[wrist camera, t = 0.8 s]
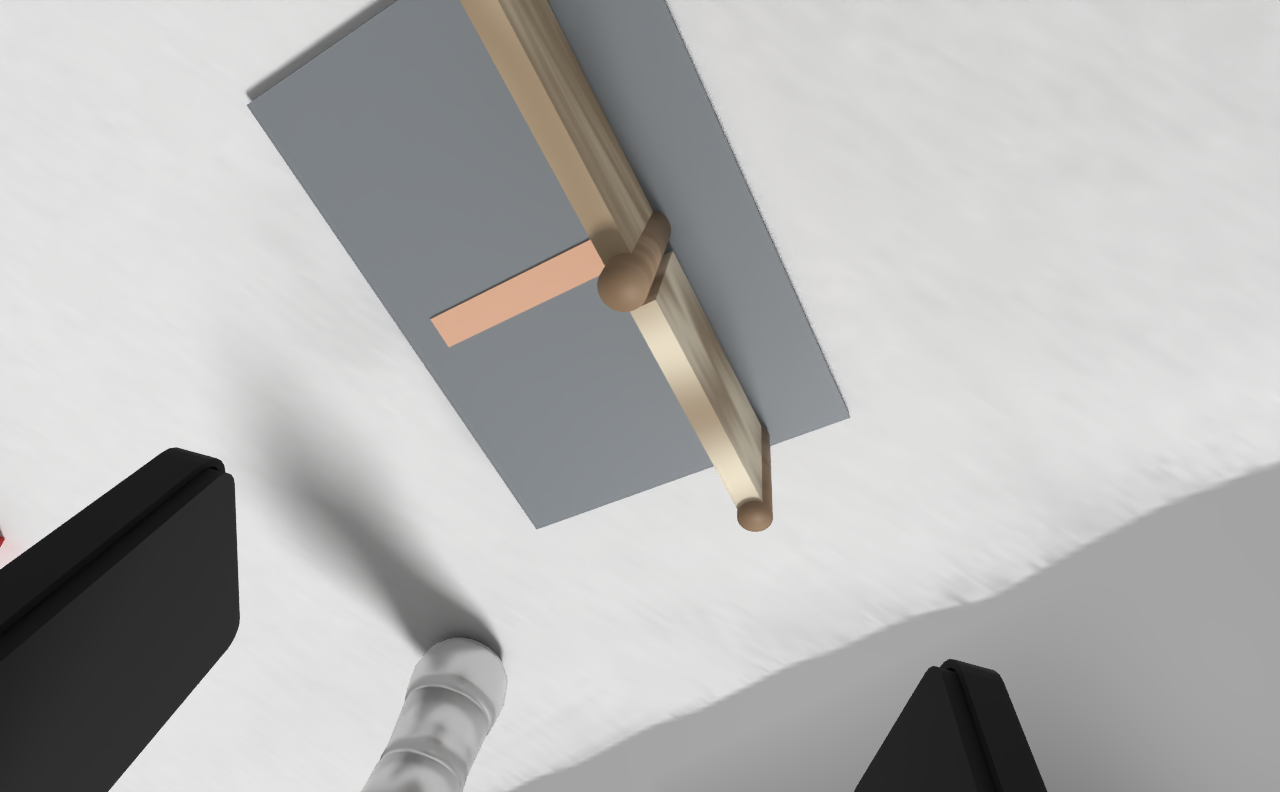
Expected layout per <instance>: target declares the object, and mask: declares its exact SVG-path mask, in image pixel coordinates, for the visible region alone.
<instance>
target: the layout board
mask: <svg viewBox="0 0 1280 792" xmlns="http://www.w3.org/2000/svg"><path fill="white" fill-rule="evenodd" d="M547 1H548V3H549V5H550V7H551V9H552V11H553V13H554V15H555V17H556V19H557V21H558V23H559V25H560V27H561V29H562V31H563V33H564V35H565V37H566V39H567V41H568V43H569V45H570V47H571V49H572V51H573V53H574V55H575V57H576V59H577V61H578V63H579V65H580V67H581V69H582V71H583V73H584V75H585V77H586V79H587V81H588V83H589V85H590V87H591V89H592V91H593V93H594V95H595V97H596V99H597V101H598V103H599V105H600V107H601V109H602V111H603V113H604V115H605V117H606V119H607V120H608V122H609V124H610V126H611V128H612V130H613V132H614V134H615V136H616V138H617V140H618V142H619V144H620V146H621V148H622V150H623V152H624V154H625V156H626V158H627V160H628V162H629V164H630V166H631V168H632V170H633V172H634V174H635V176H636V178H637V180H638V182H639V184H640V186H641V188H642V190H643V192H644V194H645V196H646V198H647V200H648V202H649V204H650V206H651V208H652V210H656V211H659V212H661V213H662V214H664V215H665V216H666V218H667V219H668V221H669V223H670V226H671V235H670V238H669V241H668V244H667V246H666V249H665V251H664V254H666V253H668V252H671V251H673V252H674V254H675V256H676V258H677V260H678V262H679V263H680V265H681V267H682V269H683V271H684V273H685V275H686V277H687V279H688V281H689V283H690V285H691V287H692V289H693V291H694V293H695V295H696V297H697V299H698V301H699V303H700V305H701V307H702V309H703V311H704V313H705V315H706V317H707V319H708V321H709V323H710V325H711V327H712V329H713V331H714V333H715V335H716V337H717V339H718V341H719V343H720V345H721V347H722V349H723V351H724V353H725V355H726V357H727V359H728V361H729V363H730V365H731V367H732V369H733V371H734V373H735V375H736V377H737V379H738V381H739V383H740V385H741V387H742V389H743V391H744V393H745V395H746V397H747V399H748V401H749V403H750V405H751V406H752V408H753V410H754V412H755V414H756V416H757V418H758V420H759V422H760V424H761V426H763V427H764V428H766V429H767V431H768V432H769V435H770V446H772V445H775V444H777V443H780V442H783V441H786V440H789V439H791V438H794V437H797V436H800V435H803V434H805V433H808V432H811V431H814V430H817V429H819V428H822V427H825V426H828V425H831V424H833V423H836V422H839V421H842V420H845V419H847V418H850V415H849V412H848V410H847V407H846V405H845V403H844V401H843V399H842V396H841V394H840V392H839V390H838V387H837V385H836V383H835V381H834V378H833V376H832V374H831V372H830V369H829V367H828V365H827V363H826V360H825V358H824V356H823V354H822V351H821V349H820V347H819V345H818V343H817V340H816V338H815V336H814V334H813V331H812V329H811V327H810V325H809V322H808V320H807V318H806V316H805V313H804V311H803V309H802V307H801V304H800V302H799V300H798V298H797V296H796V293H795V291H794V289H793V287H792V284H791V282H790V280H789V278H788V275H787V273H786V271H785V269H784V266H783V264H782V262H781V260H780V257H779V255H778V253H777V251H776V248H775V246H774V244H773V242H772V240H771V237H770V235H769V233H768V231H767V228H766V226H765V224H764V222H763V219H762V217H761V215H760V213H759V210H758V208H757V206H756V204H755V201H754V199H753V197H752V195H751V192H750V190H749V188H748V186H747V184H746V181H745V179H744V177H743V175H742V172H741V170H740V168H739V166H738V163H737V161H736V159H735V157H734V154H733V152H732V150H731V148H730V145H729V143H728V141H727V139H726V137H725V134H724V132H723V130H722V128H721V125H720V123H719V121H718V119H717V116H716V114H715V112H714V110H713V107H712V105H711V103H710V101H709V98H708V96H707V94H706V92H705V89H704V87H703V85H702V83H701V81H700V78H699V76H698V74H697V72H696V69H695V67H694V65H693V63H692V60H691V58H690V56H689V54H688V51H687V49H686V47H685V45H684V42H683V40H682V38H681V36H680V34H679V31H678V29H677V27H676V25H675V22H674V20H673V18H672V16H671V13H670V11H669V9H668V7H667V4H666V2H665V0H547ZM247 106H248V108H249V109H250V111H251V112H252V114H253V115H254V117H255V118H256V119H257V121H258V122H259V124H260V125H261V127H262V128H263V130H264V131H265V133H266V134H267V136H268V137H269V138H270V140H271V141H272V143H273V144H274V146H275V147H276V149H277V150H278V152H279V153H280V155H281V156H282V158H283V159H284V160H285V162H286V163H287V165H288V166H289V168H290V169H291V171H292V172H293V174H294V175H295V177H296V178H297V179H298V181H299V182H300V184H301V185H302V187H303V188H304V190H305V191H306V193H307V194H308V196H309V197H310V198H311V200H312V201H313V203H314V204H315V206H316V207H317V209H318V210H319V212H320V213H321V215H322V216H323V217H324V219H325V220H326V222H327V223H328V225H329V226H330V228H331V229H332V231H333V232H334V234H335V235H336V237H337V238H338V239H339V241H340V242H341V244H342V245H343V247H344V248H345V250H346V251H347V253H348V254H349V256H350V257H351V258H352V260H353V261H354V263H355V264H356V266H357V267H358V269H359V270H360V272H361V273H362V275H363V276H364V277H365V279H366V280H367V282H368V283H369V285H370V286H371V288H372V289H373V291H374V292H375V294H376V295H377V297H378V298H379V299H380V301H381V302H382V304H383V305H384V307H385V308H386V310H387V311H388V313H389V314H390V316H391V317H392V318H393V320H394V321H395V323H396V324H397V326H398V327H399V329H400V330H401V332H402V333H403V335H404V336H405V337H406V339H407V340H408V342H409V343H410V345H411V346H412V348H413V349H414V351H415V352H416V354H417V355H418V356H419V358H420V359H421V361H422V362H423V364H424V365H425V367H426V368H427V370H428V371H429V373H430V374H431V376H432V377H433V378H434V380H435V381H436V383H437V384H438V386H439V387H440V389H441V390H442V392H443V393H444V395H445V396H446V397H447V399H448V400H449V402H450V403H451V405H452V406H453V408H454V409H455V411H456V412H457V414H458V415H459V416H460V418H461V419H462V421H463V422H464V424H465V425H466V427H467V428H468V430H469V431H470V433H471V434H472V435H473V437H474V438H475V440H476V441H477V443H478V444H479V446H480V447H481V449H482V450H483V452H484V453H485V455H486V456H487V457H488V459H489V460H490V462H491V463H492V465H493V466H494V468H495V469H496V471H497V472H498V474H499V475H500V476H501V478H502V479H503V481H504V482H505V484H506V485H507V487H508V488H509V490H510V491H511V493H512V494H513V495H514V497H515V498H516V500H517V501H518V503H519V504H520V506H521V507H522V509H523V510H524V512H525V513H526V515H527V516H528V517H529V519H530V520H531V522H532V523H533V525H534V526H535V528H536V529H539V528H542V527H545V526H548V525H550V524H553V523H556V522H559V521H562V520H564V519H567V518H570V517H573V516H576V515H578V514H581V513H584V512H587V511H590V510H592V509H595V508H598V507H601V506H604V505H606V504H609V503H612V502H615V501H618V500H620V499H623V498H626V497H629V496H632V495H634V494H637V493H640V492H643V491H646V490H648V489H651V488H654V487H657V486H660V485H662V484H665V483H668V482H671V481H674V480H676V479H679V478H682V477H685V476H688V475H690V474H693V473H696V472H699V471H702V470H704V469H707V468H710V467H713V466H714V465H713V463H712V461H711V460H710V458H709V456H708V454H707V452H706V450H705V449H704V447H703V445H702V443H701V441H700V439H699V438H698V436H697V434H696V432H695V430H694V428H693V427H692V425H691V423H690V421H689V419H688V417H687V416H686V414H685V412H684V410H683V408H682V406H681V405H680V403H679V401H678V399H677V397H676V396H675V394H674V392H673V390H672V388H671V386H670V385H669V383H668V381H667V379H666V377H665V375H664V374H663V372H662V370H661V368H660V366H659V364H658V363H657V361H656V359H655V357H654V355H653V353H652V352H651V350H650V348H649V346H648V344H647V342H646V341H645V339H644V337H643V335H642V333H641V331H640V330H639V328H638V326H637V324H636V322H635V320H634V319H633V317H632V315H631V313H630V312H619V311H615V310H613V309H611V308H609V307H608V306H607V305H606V304H604V302H603V301H602V300H601V298H600V296H599V294H598V290H597V282H598V278H599V275H600V274H601V272H602V270H603V269H604V267H605V265H604V264H603V262H602V260H601V258H600V256H599V254H598V253H597V251H596V249H595V247H594V245H593V243H592V242H591V240H590V238H589V236H588V234H587V232H586V231H585V229H584V227H583V225H582V223H581V221H580V220H579V218H578V216H577V214H576V212H575V210H574V209H573V207H572V205H571V203H570V201H569V199H568V198H567V196H566V194H565V192H564V190H563V188H562V187H561V185H560V183H559V181H558V179H557V177H556V176H555V174H554V172H553V170H552V168H551V166H550V165H549V163H548V161H547V159H546V157H545V155H544V154H543V152H542V150H541V148H540V146H539V144H538V143H537V141H536V139H535V137H534V135H533V133H532V132H531V130H530V128H529V126H528V124H527V122H526V121H525V119H524V117H523V115H522V113H521V111H520V110H519V108H518V106H517V104H516V102H515V100H514V99H513V97H512V95H511V93H510V91H509V89H508V88H507V86H506V84H505V82H504V80H503V78H502V77H501V75H500V73H499V71H498V69H497V67H496V66H495V64H494V62H493V60H492V58H491V56H490V55H489V53H488V51H487V49H486V47H485V45H484V44H483V42H482V40H481V38H480V36H479V34H478V33H477V31H476V29H475V27H474V25H473V23H472V22H471V20H470V18H469V16H468V14H467V12H466V11H465V9H464V7H463V5H462V3H461V1H460V0H397V1H396V2H394V3H393V4H392V5H390V6H389V7H387V8H386V9H384V10H383V11H381V12H380V13H379V14H377V15H376V16H374V17H373V18H371V19H370V20H369V21H367V22H366V23H364V24H363V25H361V26H360V27H358V28H357V29H356V30H354V31H353V32H351V33H350V34H348V35H347V36H345V37H344V38H343V39H341V40H340V41H338V42H337V43H335V44H334V45H333V46H331V47H330V48H328V49H327V50H325V51H324V52H322V53H321V54H320V55H318V56H317V57H315V58H314V59H312V60H311V61H309V62H308V63H307V64H305V65H304V66H302V67H301V68H299V69H298V70H296V71H295V72H294V73H292V74H291V75H289V76H288V77H286V78H285V79H284V80H282V81H281V82H279V83H278V84H276V85H275V86H273V87H272V88H271V89H269V90H268V91H266V92H265V93H263V94H262V95H260V96H259V97H258V98H256V99H255V100H253V101H252V102H250V103H249V104H248V105H247ZM664 254H663V255H664Z"/></svg>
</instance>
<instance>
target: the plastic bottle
mask: <svg viewBox="0 0 1280 792" xmlns="http://www.w3.org/2000/svg"><path fill="white" fill-rule="evenodd" d="M507 683H508V682H507V675H506V672H505V669H504V667H503V664H502V662H501V660H500V658H499V657H498V656H497V655H496V653H495V652H494V651H492V650H491V649H490V648H489V647H487V646H486V645H484V644H482V643H480V642H478V641H476V640H472V639H469V638H462V637H454V638H449V639H446V640H444V641H441V642H439V643H437V644H435V645H433V646H432V647H430V648H429V649H428V651H427V652H426V653H425V654H424V656H423V657H422V658H421V660H420V661H419V662H418V664H417V665H416V666H415V669H414V671H413V674H412V677H411V680H410V683H409V686H408V688H407V693H406V697H405V703H404V705H403V708H402V710H401V713H400V716H399V718H398V721H397V723H396V726H395V728H394V731H393V733H392V736H391V738H390V741H389V743H388V745H387V747H386V748H385V750H384V752H383V754H382V756H381V758H380V761H379V762H378V763H377V765H376V766H375V768H374V770H373V772H372V774H371V775H370V777H369V779H368V781H367V783H366V784H365V786H364V788H363V789H362V791H361V792H462V791H463V788H464V785H465V782H466V778H467V776H468V773H469V771H470V769H471V767H472V765H473V763H474V760H475V758H476V756H477V754H478V752H479V750H480V748H481V745H482V743H483V741H484V739H485V737H486V736H487V735H488V733H489V731H490V730H491V728H492V727H493V725H494V723H495V721H496V719H497V717H498V715H499V714H500V712H501V710H502V708H503V706H504V701H505V695H506V689H507Z"/></svg>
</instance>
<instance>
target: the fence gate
mask: <svg viewBox="0 0 1280 792" xmlns="http://www.w3.org/2000/svg"><path fill="white" fill-rule="evenodd" d="M630 313H631V315H632V317H633V319H634V320H635V322H636V324H637V326H638V328H639V330H640V331H641V333H642V335H643V337H644V339H645V341H646V342H647V344H648V346H649V348H650V350H651V352H652V353H653V355H654V357H655V359H656V361H657V363H658V364H659V366H660V368H661V370H662V372H663V374H664V375H665V377H666V379H667V381H668V383H669V385H670V386H671V388H672V390H673V392H674V394H675V396H676V397H677V399H678V401H679V403H680V405H681V406H682V408H683V410H684V412H685V414H686V416H687V417H688V419H689V421H690V423H691V425H692V427H693V428H694V430H695V432H696V434H697V436H698V438H699V439H700V441H701V443H702V445H703V447H704V449H705V450H706V452H707V454H708V456H709V458H710V460H711V461H712V463H713V465H714V467H715V469H716V471H717V472H718V474H719V476H720V478H721V480H722V482H723V483H724V485H725V487H726V489H727V491H728V493H729V494H730V496H731V498H732V500H733V502H734V504H735V505H736V507H737V509H738V510H737V519H738V522H739V524H740V525H741V526H742V527H743V528H744V529H746V530H748V531H753V532H758V531H763V530H765V529H767V528H768V527H769V526H770V525H771V523H772V520H773V512H772V485H771V457H770V435H769V432H768V431H767V429H766V428H764V427H763V426H761V424H760V422H759V420H758V418H757V416H756V414H755V412H754V410H753V408H752V406H751V405H750V403H749V401H748V399H747V397H746V395H745V393H744V391H743V389H742V387H741V385H740V383H739V381H738V379H737V377H736V375H735V373H734V371H733V369H732V367H731V365H730V363H729V361H728V359H727V357H726V355H725V353H724V351H723V349H722V347H721V345H720V343H719V341H718V339H717V337H716V335H715V333H714V331H713V329H712V327H711V325H710V323H709V321H708V319H707V317H706V315H705V313H704V311H703V309H702V307H701V305H700V303H699V301H698V299H697V297H696V295H695V293H694V291H693V289H692V287H691V285H690V283H689V281H688V279H687V277H686V275H685V273H684V271H683V269H682V267H681V265H680V263H679V262H678V260H677V258H676V256H675V254H674V252H673V251H671V252H668V253H666V254H664V255H663V257H662V259H661V262H660V264H659V267H658V270H657V272H656V275H655V278H654V280H653V283H652V285H651V288H650V291H649V293H648V296H647V298H646V300H645V302H644V303H643V304H642V305H641V306H640V307H639V308H637V309H636V310H633V311H630Z"/></svg>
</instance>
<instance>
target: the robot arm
mask: <svg viewBox="0 0 1280 792" xmlns="http://www.w3.org/2000/svg"><path fill="white" fill-rule="evenodd" d="M239 621H240V612H239V586H238V560H237V533H236V507H235V483H234V478H233V477H232V475H231V474H228V473H225V467H224V464H223V463H222V461H221V460H219V459H217V458H213V457H210V456H206V455H202V454H199V453H195V452H191V451H188V450H184V449H180V448H169V449H168V450H166V451H164V452H162V453H161V454H159V455H158V456H156V457H155V458H154V459H152V460H151V461H150V462H148V463H147V464H145V465H144V466H143V467H141V468H140V469H139V470H137V471H136V472H134V473H133V474H132V475H130V476H129V477H127V478H126V479H125V480H123V481H122V482H121V483H119V484H118V485H116V486H115V487H114V488H112V489H111V490H109V491H108V492H107V493H105V494H104V495H103V496H101V497H100V498H98V499H97V500H96V501H94V502H93V503H92V504H90V505H89V506H87V507H86V508H85V509H83V510H82V511H80V512H79V513H78V514H76V515H75V516H74V517H72V518H71V519H69V520H68V521H67V522H65V523H64V524H62V525H61V526H60V527H58V528H57V529H56V530H54V531H53V532H51V533H50V534H49V535H47V536H46V537H45V538H43V539H42V540H40V541H39V542H38V543H36V544H35V545H33V546H32V547H31V548H29V549H28V550H27V551H25V552H24V553H22V554H21V555H20V556H18V557H17V558H15V559H14V560H13V561H11V562H10V563H9V564H7V565H6V566H4V567H3V568H2V569H0V792H108V791H109V790H110V789H111V787H112V786H113V785H114V784H115V783H116V781H117V780H118V779H119V778H120V777H121V776H122V774H123V773H124V772H125V771H126V770H127V768H128V767H129V766H130V765H131V764H132V762H133V761H134V760H135V759H136V758H137V756H138V755H139V754H140V753H141V752H142V750H143V749H144V748H145V747H146V746H147V744H148V743H149V742H150V741H151V740H152V738H153V737H154V736H155V735H156V734H157V732H158V731H159V730H160V729H161V728H162V727H163V725H164V724H165V723H166V722H167V721H168V719H169V718H170V717H171V716H172V715H173V713H174V712H175V711H176V710H177V709H178V707H179V706H180V705H181V704H182V703H183V701H184V700H185V699H186V698H187V697H188V695H189V694H190V693H191V692H192V691H193V689H194V688H195V687H196V686H197V685H198V684H199V682H200V681H201V680H202V679H203V678H204V676H205V675H206V674H207V673H208V672H209V670H210V669H211V668H212V667H213V666H214V664H215V663H216V662H217V661H218V660H219V658H220V657H221V656H222V655H223V654H224V652H225V651H226V650H227V649H228V647H229V646H230V645H231V643H232V641H233V639H234V638H235V635H236V633H237V630H238V627H239ZM854 792H1047V790H1046V787H1045V785H1044V782H1043V780H1042V778H1041V775H1040V773H1039V770H1038V767H1037V765H1036V762H1035V760H1034V757H1033V755H1032V752H1031V750H1030V747H1029V745H1028V742H1027V740H1026V737H1025V735H1024V732H1023V730H1022V727H1021V725H1020V722H1019V720H1018V717H1017V715H1016V712H1015V710H1014V707H1013V704H1012V702H1011V700H1010V697H1009V694H1008V692H1007V690H1006V687H1005V684H1004V682H1003V680H1002V678H1001V677H1000V675H999V674H998V673H997V672H995V671H994V670H991V669H987V668H983V667H979V666H976V665H972V664H968V663H965V662H961V661H957V660H953V659H949V660H947V661H945V662H944V663H943V664H942V665H941V667H935V666H932V667H931V668H929V669H928V670H927V671H926V673H925V674H924V676H923V678H922V679H921V681H920V683H919V684H918V686H917V688H916V689H915V691H914V693H913V694H912V696H911V697H910V699H909V701H908V703H907V704H906V706H905V707H904V709H903V711H902V712H901V714H900V716H899V717H898V719H897V721H896V722H895V724H894V726H893V727H892V729H891V731H890V732H889V734H888V736H887V737H886V739H885V741H884V742H883V744H882V745H881V747H880V749H879V751H878V752H877V754H876V755H875V757H874V759H873V760H872V762H871V764H870V765H869V767H868V769H867V770H866V772H865V774H864V775H863V777H862V779H861V780H860V782H859V784H858V785H857V787H856V789H855V791H854Z"/></svg>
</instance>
